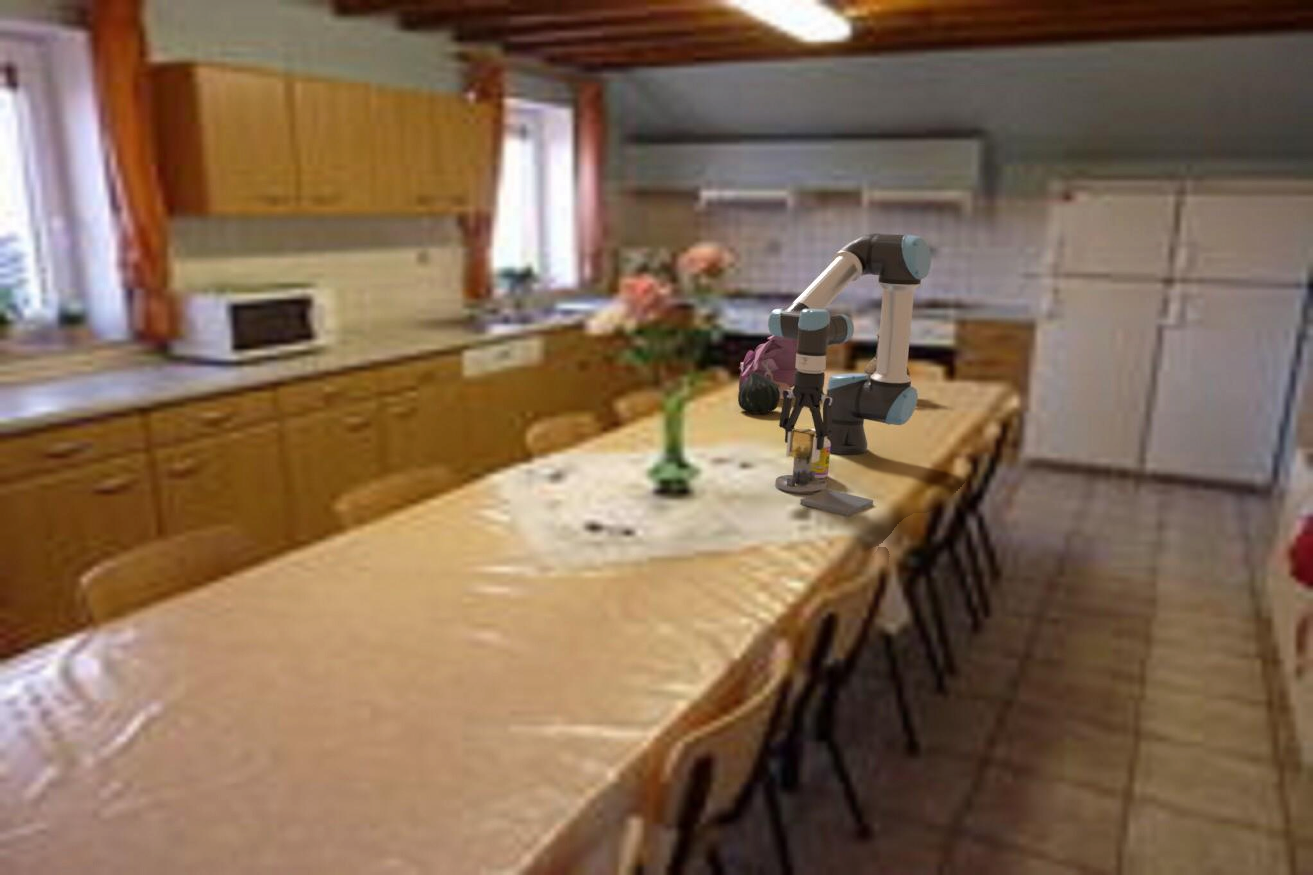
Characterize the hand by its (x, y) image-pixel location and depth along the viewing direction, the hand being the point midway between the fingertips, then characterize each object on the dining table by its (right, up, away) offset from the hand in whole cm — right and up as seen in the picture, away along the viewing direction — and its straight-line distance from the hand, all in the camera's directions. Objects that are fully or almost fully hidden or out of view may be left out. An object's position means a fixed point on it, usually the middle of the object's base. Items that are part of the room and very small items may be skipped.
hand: (802, 458), depth 244 cm
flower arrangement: (+8, +22, +127) cm, 129 cm away
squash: (-2, +14, +92) cm, 93 cm away
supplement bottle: (+6, -5, +14) cm, 16 cm away
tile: (+7, -11, -11) cm, 17 cm away
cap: (0, +1, 0) cm, 1 cm away
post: (0, -8, +2) cm, 8 cm away
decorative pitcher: (+53, +21, +131) cm, 143 cm away
